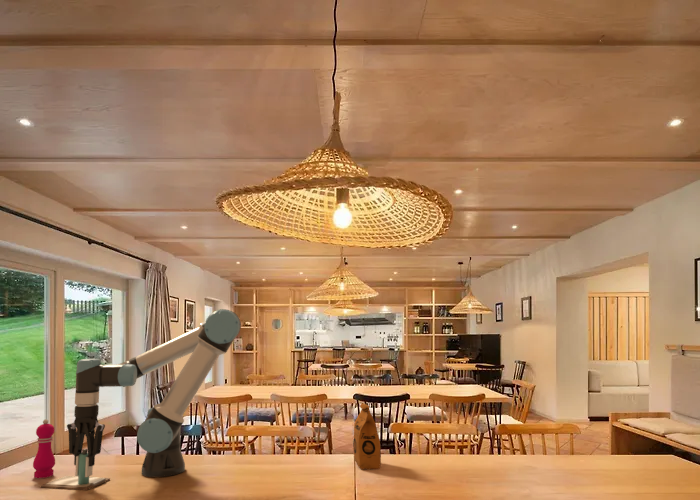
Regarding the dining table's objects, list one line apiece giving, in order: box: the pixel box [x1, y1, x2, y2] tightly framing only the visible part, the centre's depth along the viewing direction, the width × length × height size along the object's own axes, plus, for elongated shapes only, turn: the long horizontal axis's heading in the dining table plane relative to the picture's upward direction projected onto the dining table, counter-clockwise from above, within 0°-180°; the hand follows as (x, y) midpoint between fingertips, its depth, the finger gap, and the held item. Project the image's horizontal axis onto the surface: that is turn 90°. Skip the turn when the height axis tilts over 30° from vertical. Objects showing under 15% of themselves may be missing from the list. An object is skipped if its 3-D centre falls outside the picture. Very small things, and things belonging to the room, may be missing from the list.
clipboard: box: [40, 475, 111, 491], centre depth 203 cm, size 18×12×1 cm, turn 77°
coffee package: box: [352, 402, 382, 470], centre depth 220 cm, size 10×12×22 cm
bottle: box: [78, 448, 90, 485], centre depth 201 cm, size 3×3×11 cm
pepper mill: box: [32, 419, 56, 479], centre depth 216 cm, size 7×7×20 cm
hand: (83, 475), depth 201 cm, fingers closed on bottle, 3 cm apart
